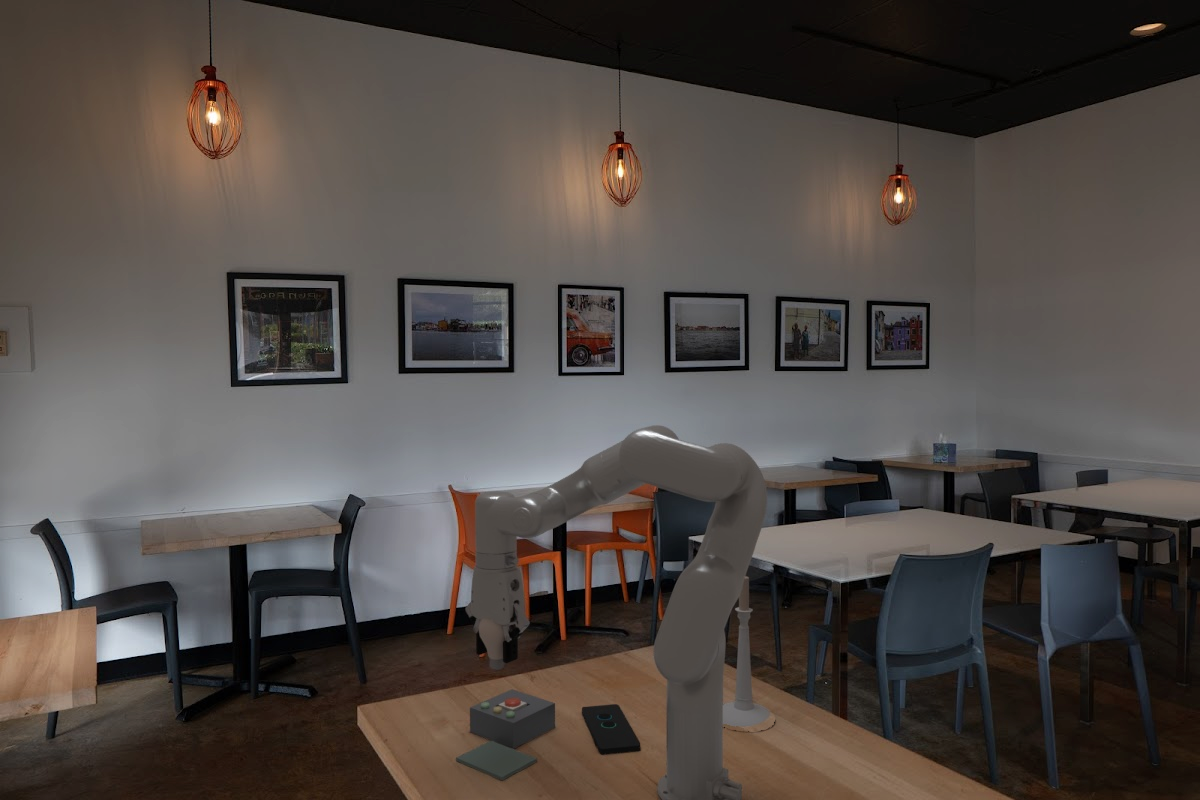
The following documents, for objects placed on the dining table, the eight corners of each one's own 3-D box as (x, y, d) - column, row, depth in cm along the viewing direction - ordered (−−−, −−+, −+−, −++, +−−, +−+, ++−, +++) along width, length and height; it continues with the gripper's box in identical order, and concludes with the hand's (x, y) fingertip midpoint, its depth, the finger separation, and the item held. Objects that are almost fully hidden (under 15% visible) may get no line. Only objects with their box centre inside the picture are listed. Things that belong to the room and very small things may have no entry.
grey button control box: (555, 727, 168) (555, 699, 168) (513, 748, 158) (513, 718, 158) (512, 712, 175) (512, 685, 175) (470, 732, 166) (469, 703, 166)
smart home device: (618, 702, 177) (642, 744, 158) (618, 711, 177) (642, 753, 158) (580, 706, 175) (599, 748, 156) (580, 714, 175) (599, 757, 156)
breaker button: (526, 717, 167) (526, 700, 167) (512, 724, 164) (512, 706, 164) (512, 712, 170) (512, 695, 170) (498, 719, 167) (498, 701, 166)
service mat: (536, 761, 153) (536, 758, 153) (502, 780, 146) (502, 777, 146) (491, 743, 161) (491, 740, 161) (456, 760, 154) (456, 757, 154)
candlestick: (699, 718, 172) (699, 574, 171) (739, 701, 181) (739, 564, 180) (748, 738, 163) (749, 586, 162) (788, 720, 171) (788, 575, 170)
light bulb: (508, 677, 149) (507, 616, 149) (473, 675, 151) (473, 614, 150) (519, 665, 156) (519, 606, 155) (486, 662, 157) (485, 605, 157)
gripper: (545, 562, 150) (545, 661, 150) (478, 550, 161) (479, 642, 161) (515, 570, 144) (516, 673, 145) (448, 557, 155) (449, 652, 155)
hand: (496, 655), depth 153 cm, fingers closed on light bulb, 6 cm apart
